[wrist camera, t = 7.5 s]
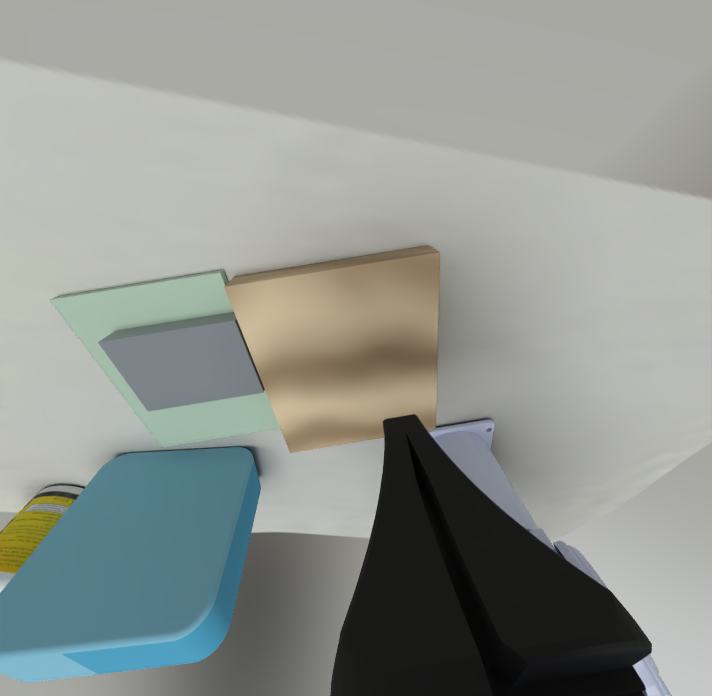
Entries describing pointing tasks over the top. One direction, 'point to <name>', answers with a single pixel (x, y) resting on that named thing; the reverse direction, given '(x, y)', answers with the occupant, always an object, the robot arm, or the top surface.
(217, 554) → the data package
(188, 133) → the top surface
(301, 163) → the top surface
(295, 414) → the oak board
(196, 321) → the slate tile
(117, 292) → the green mat
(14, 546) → the supplement bottle
